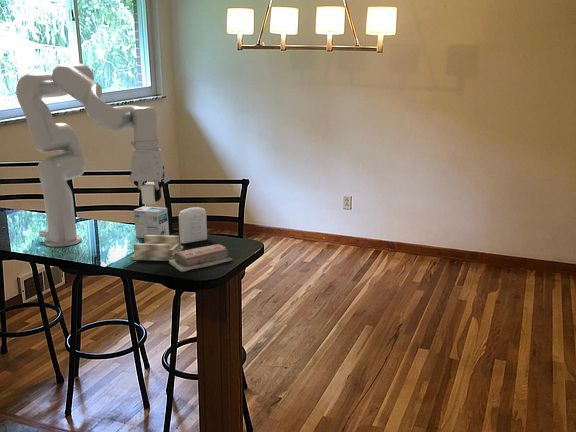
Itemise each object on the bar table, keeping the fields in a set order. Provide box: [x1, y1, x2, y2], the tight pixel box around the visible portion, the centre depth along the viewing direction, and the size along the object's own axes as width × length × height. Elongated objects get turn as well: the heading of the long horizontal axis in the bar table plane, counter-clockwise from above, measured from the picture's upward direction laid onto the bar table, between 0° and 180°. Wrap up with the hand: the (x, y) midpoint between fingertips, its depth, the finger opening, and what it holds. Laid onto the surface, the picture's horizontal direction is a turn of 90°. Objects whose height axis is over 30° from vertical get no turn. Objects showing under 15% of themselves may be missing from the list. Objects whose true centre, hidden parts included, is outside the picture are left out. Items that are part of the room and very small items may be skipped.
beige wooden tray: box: [130, 234, 184, 262], centre depth 202 cm, size 14×13×5 cm
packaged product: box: [168, 243, 233, 273], centre depth 193 cm, size 18×5×10 cm
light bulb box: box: [133, 205, 170, 239], centre depth 221 cm, size 11×7×11 cm, turn 71°
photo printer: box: [178, 206, 208, 244], centre depth 215 cm, size 10×4×12 cm, turn 123°
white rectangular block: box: [141, 181, 158, 205], centre depth 197 cm, size 4×6×6 cm, turn 173°
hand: (150, 200), depth 198 cm, fingers closed on white rectangular block, 4 cm apart
